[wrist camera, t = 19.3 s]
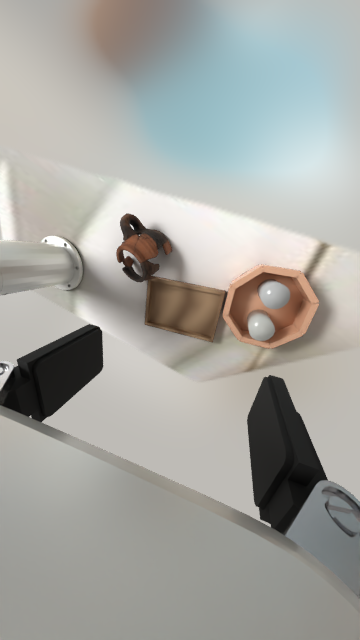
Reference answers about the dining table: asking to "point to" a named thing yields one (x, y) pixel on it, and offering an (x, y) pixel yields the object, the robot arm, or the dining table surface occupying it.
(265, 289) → the stone
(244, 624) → the robot arm
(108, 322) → the dining table surface
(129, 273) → the brown piece
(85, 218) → the dining table surface
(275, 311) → the bowl
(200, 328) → the tray
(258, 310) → the stone
